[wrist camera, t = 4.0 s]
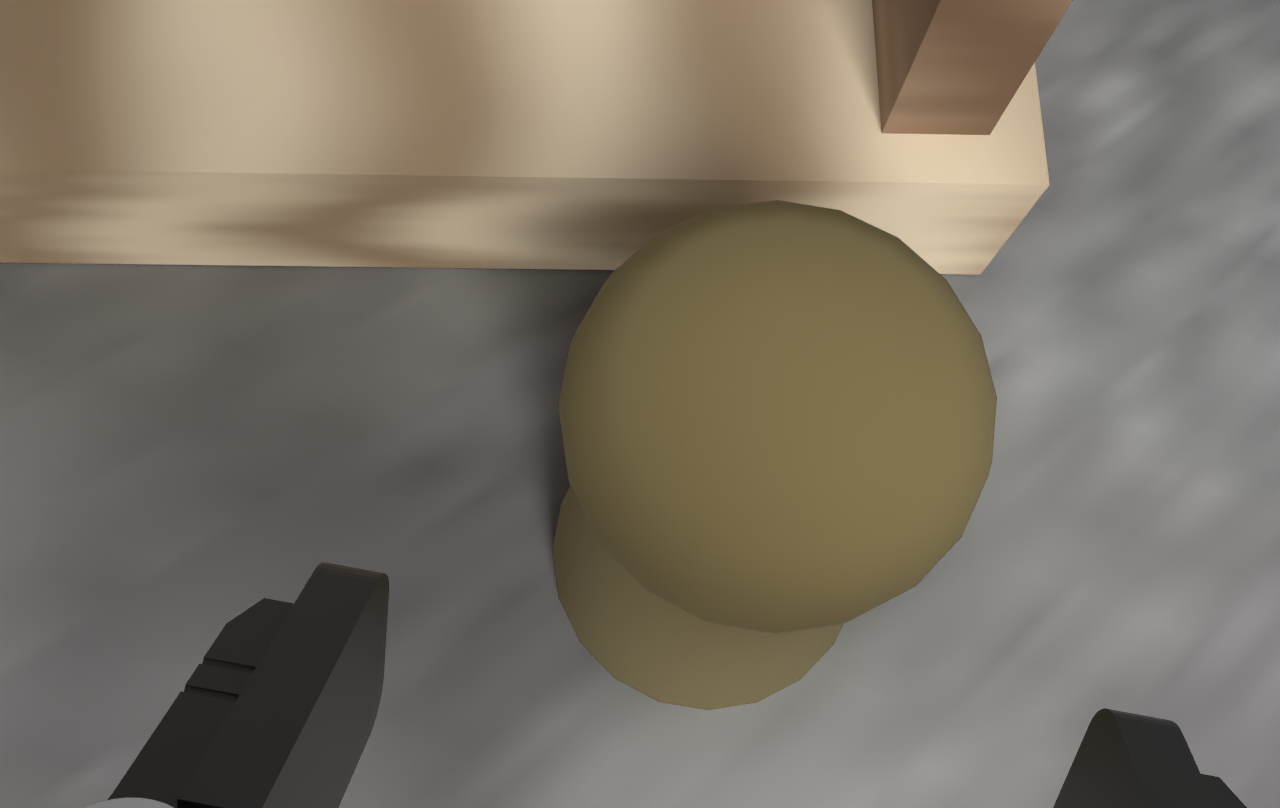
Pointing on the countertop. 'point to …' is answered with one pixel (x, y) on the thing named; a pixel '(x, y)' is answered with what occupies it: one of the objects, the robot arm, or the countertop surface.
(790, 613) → the cork
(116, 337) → the countertop surface
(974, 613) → the countertop surface
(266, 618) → the robot arm
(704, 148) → the wooden slotted rack
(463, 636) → the countertop surface
